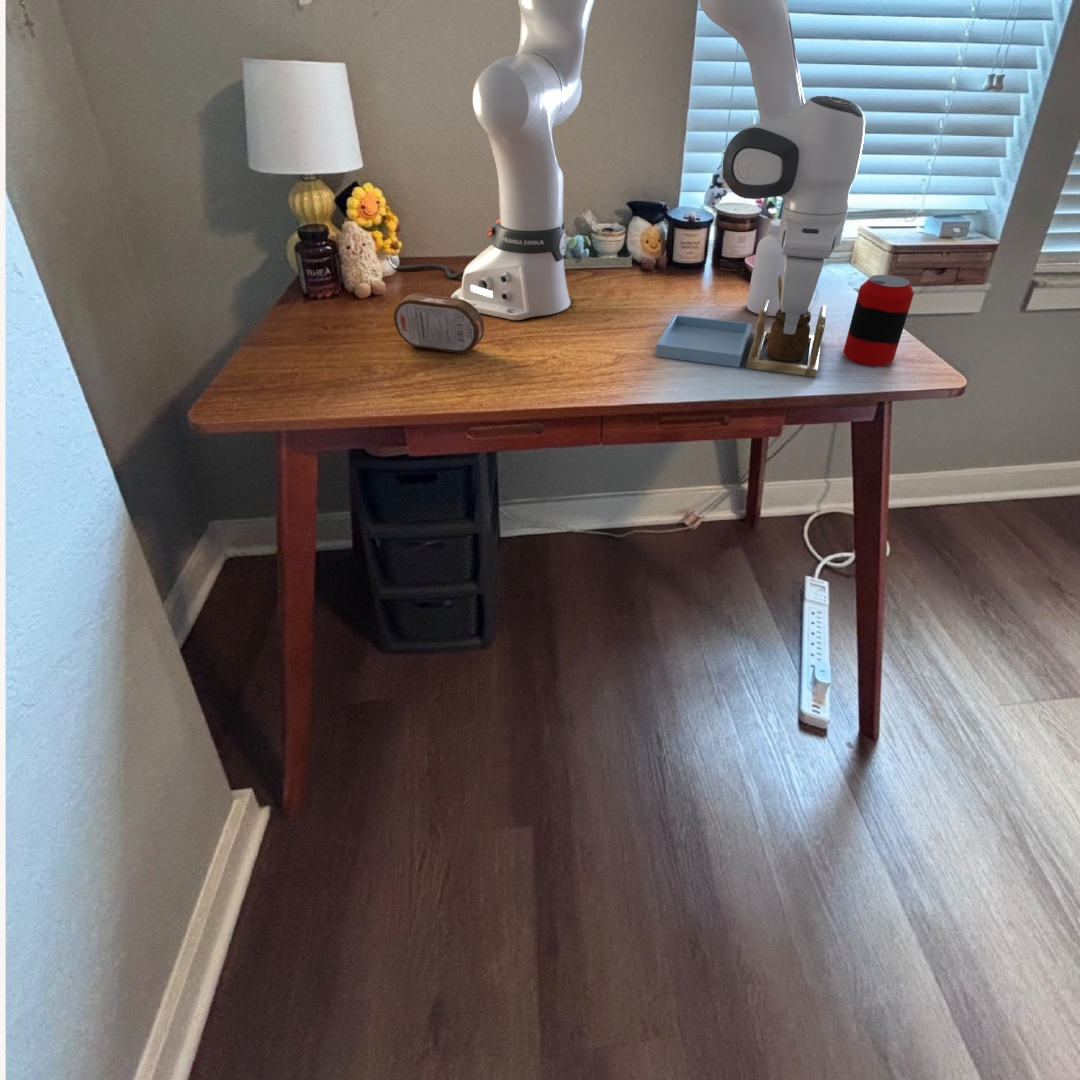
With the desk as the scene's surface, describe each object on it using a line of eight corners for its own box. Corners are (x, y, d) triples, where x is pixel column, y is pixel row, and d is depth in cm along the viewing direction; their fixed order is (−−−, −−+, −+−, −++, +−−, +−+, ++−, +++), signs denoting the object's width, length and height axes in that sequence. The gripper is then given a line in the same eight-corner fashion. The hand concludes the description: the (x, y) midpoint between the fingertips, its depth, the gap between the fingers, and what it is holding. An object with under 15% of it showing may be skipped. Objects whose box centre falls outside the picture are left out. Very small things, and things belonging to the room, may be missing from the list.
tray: (655, 356, 115) (656, 344, 114) (672, 325, 126) (674, 314, 125) (739, 367, 112) (741, 355, 110) (749, 334, 122) (751, 323, 121)
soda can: (832, 352, 116) (851, 276, 109) (868, 344, 119) (889, 270, 111) (867, 370, 111) (889, 291, 103) (904, 361, 113) (928, 284, 106)
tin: (486, 350, 117) (483, 299, 112) (478, 358, 115) (475, 306, 110) (403, 339, 121) (397, 289, 116) (394, 346, 119) (387, 295, 114)
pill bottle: (792, 318, 128) (811, 229, 119) (746, 315, 129) (761, 227, 120) (789, 303, 134) (807, 218, 125) (745, 300, 136) (759, 215, 127)
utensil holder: (801, 365, 112) (819, 288, 105) (760, 358, 114) (775, 282, 107) (807, 351, 116) (824, 276, 109) (767, 345, 119) (782, 271, 111)
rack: (745, 368, 112) (753, 323, 107) (755, 335, 122) (763, 293, 118) (815, 377, 109) (826, 332, 104) (819, 343, 119) (830, 300, 115)
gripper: (793, 211, 112) (776, 299, 121) (782, 245, 97) (763, 344, 105) (835, 214, 111) (815, 303, 119) (831, 250, 95) (808, 349, 104)
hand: (791, 323), depth 112 cm, fingers open, 7 cm apart
